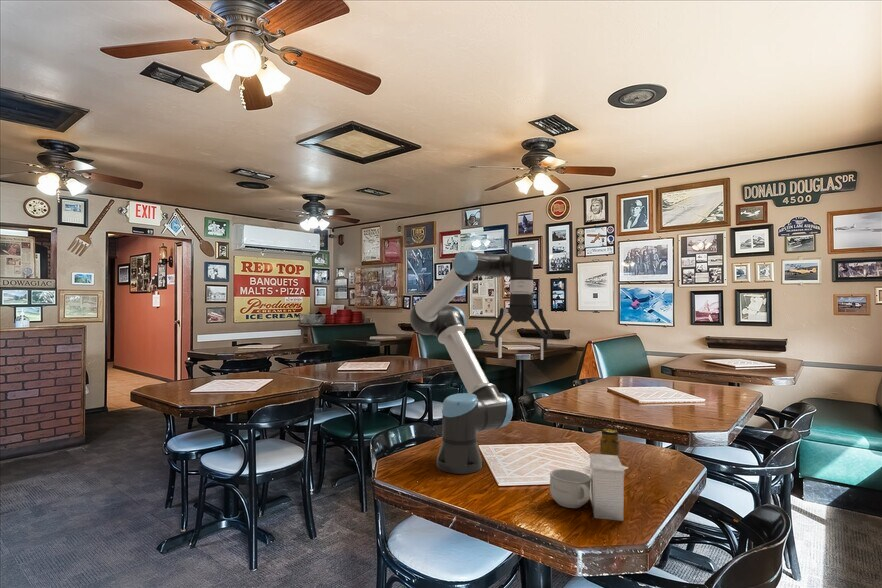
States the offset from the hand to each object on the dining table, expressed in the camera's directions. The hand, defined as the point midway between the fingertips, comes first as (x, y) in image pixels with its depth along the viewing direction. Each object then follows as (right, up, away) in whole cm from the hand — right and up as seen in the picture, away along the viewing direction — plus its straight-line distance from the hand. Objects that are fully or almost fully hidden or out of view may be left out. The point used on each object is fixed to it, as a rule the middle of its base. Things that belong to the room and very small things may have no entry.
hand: (520, 358), depth 151 cm
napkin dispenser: (+18, -36, -28) cm, 49 cm away
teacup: (+9, -37, -26) cm, 46 cm away
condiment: (+32, -38, +5) cm, 49 cm away
